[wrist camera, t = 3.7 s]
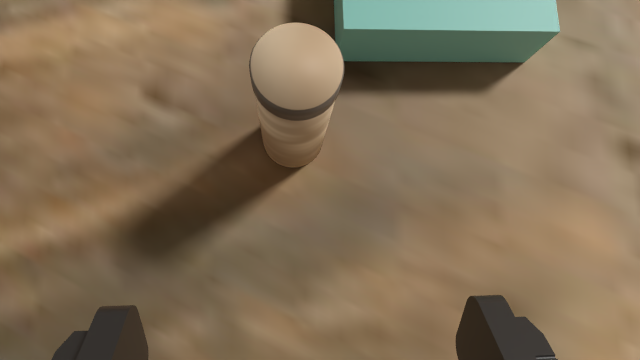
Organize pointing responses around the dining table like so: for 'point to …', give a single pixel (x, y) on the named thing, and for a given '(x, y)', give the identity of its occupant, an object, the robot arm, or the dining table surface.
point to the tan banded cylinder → (295, 90)
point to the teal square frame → (443, 29)
